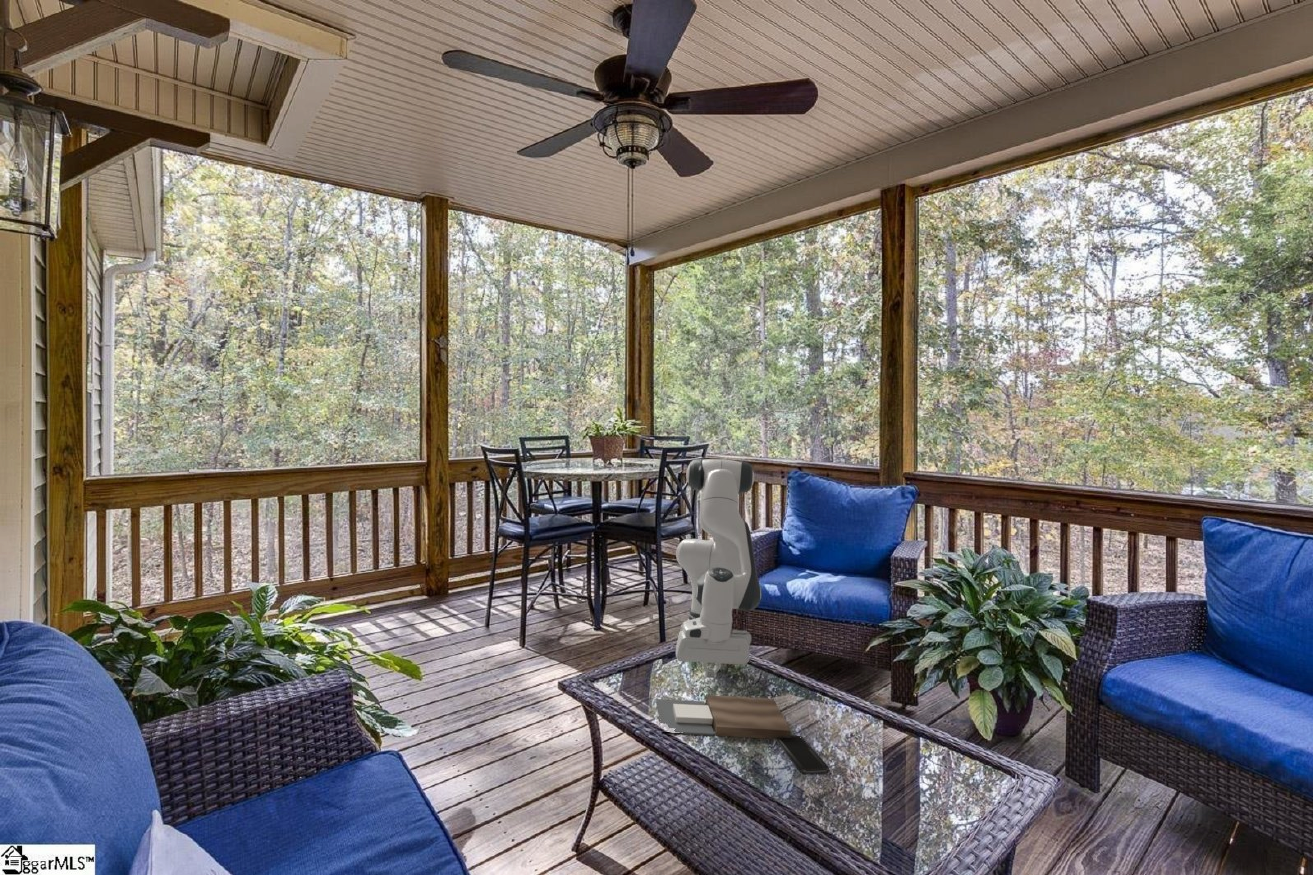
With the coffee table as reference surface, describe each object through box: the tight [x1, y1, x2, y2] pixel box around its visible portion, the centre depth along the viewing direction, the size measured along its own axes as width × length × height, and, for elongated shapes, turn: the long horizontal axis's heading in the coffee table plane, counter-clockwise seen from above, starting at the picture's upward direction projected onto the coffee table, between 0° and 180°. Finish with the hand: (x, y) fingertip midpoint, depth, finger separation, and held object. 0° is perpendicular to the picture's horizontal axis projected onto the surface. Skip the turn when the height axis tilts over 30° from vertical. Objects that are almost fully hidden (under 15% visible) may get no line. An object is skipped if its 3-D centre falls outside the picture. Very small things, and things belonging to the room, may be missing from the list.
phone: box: [775, 735, 830, 775], centre depth 154 cm, size 8×1×15 cm
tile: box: [673, 704, 713, 725], centre depth 167 cm, size 7×10×2 cm
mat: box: [655, 698, 715, 737], centre depth 167 cm, size 17×14×1 cm
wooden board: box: [705, 694, 792, 740], centre depth 169 cm, size 17×20×2 cm
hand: (710, 676), depth 168 cm, fingers closed
